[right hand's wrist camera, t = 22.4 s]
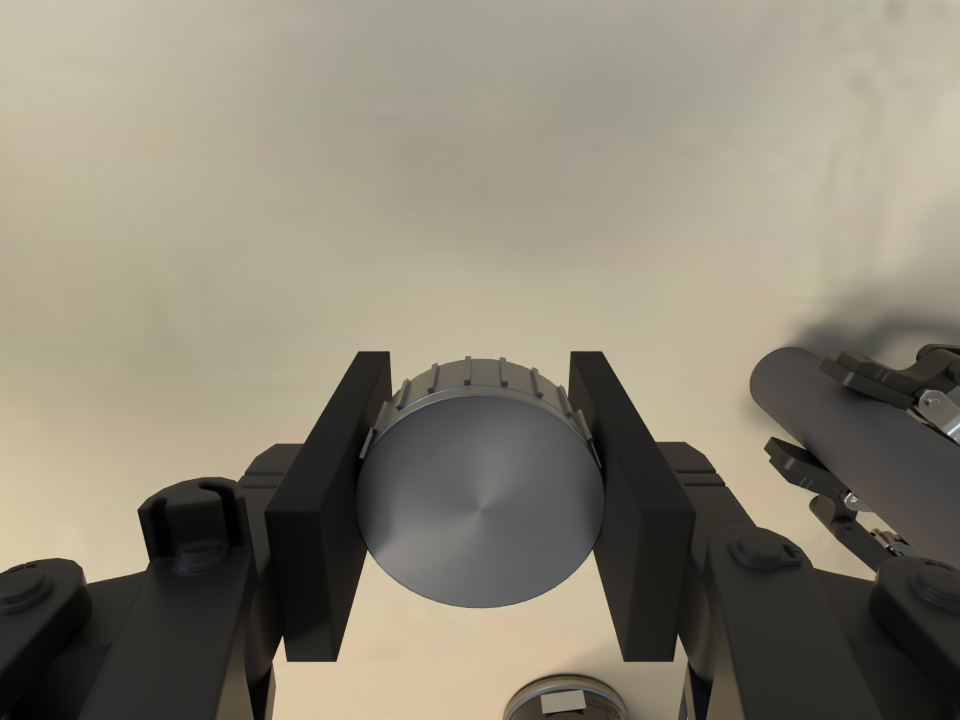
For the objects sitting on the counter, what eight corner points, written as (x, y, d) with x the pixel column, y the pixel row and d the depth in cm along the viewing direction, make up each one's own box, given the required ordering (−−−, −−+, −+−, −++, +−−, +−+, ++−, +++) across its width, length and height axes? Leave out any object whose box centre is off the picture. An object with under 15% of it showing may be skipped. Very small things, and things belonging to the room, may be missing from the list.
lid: (321, 463, 12) (295, 514, 10) (476, 305, 11) (475, 334, 9) (483, 586, 13) (484, 649, 11) (639, 455, 12) (665, 504, 10)
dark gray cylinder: (823, 399, 35) (1148, 639, 18) (755, 419, 35) (1009, 670, 18) (815, 338, 33) (1158, 535, 17) (744, 359, 34) (1008, 572, 17)
